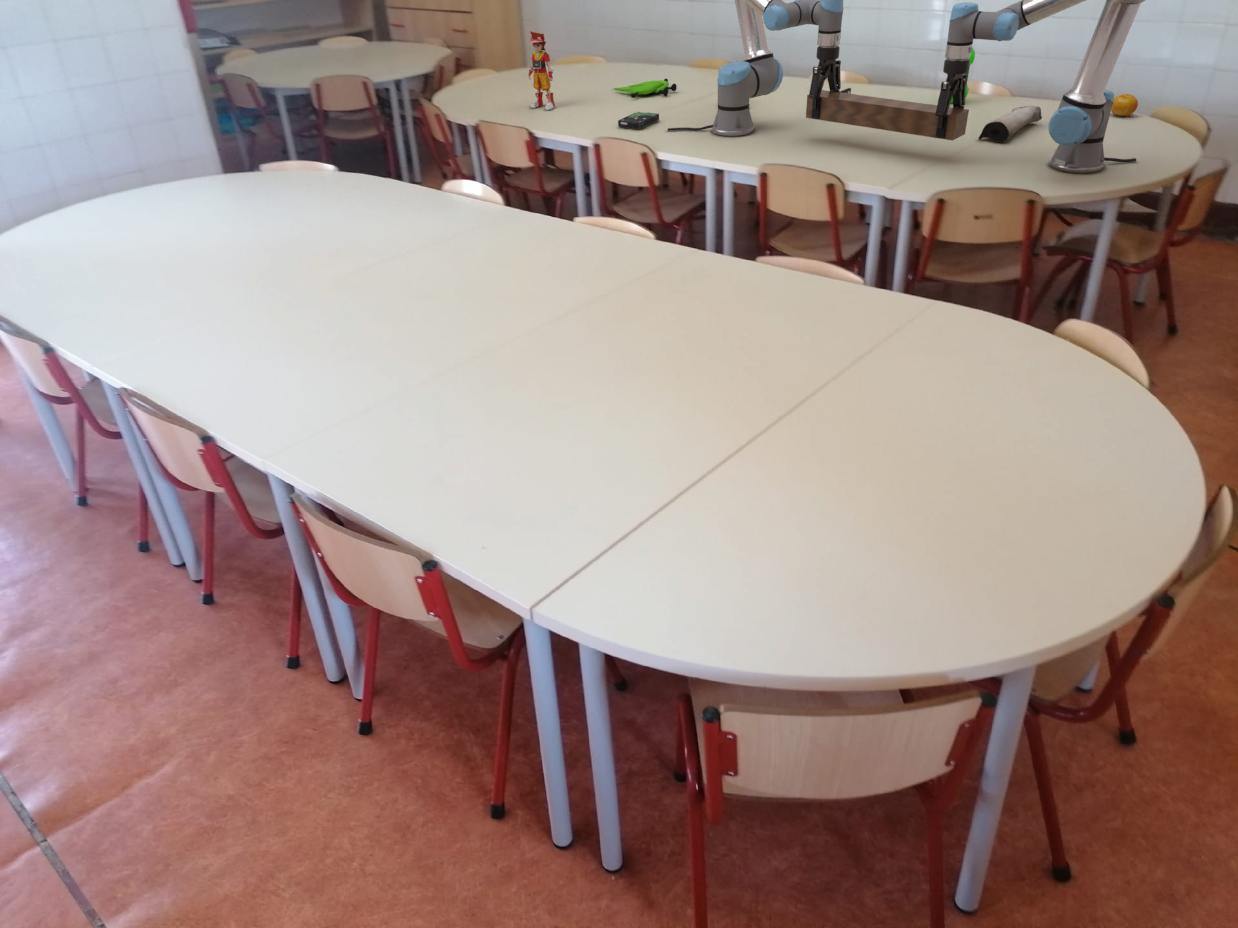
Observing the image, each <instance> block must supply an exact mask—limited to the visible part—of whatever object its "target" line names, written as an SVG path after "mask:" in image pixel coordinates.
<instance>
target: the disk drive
mask: <svg viewBox="0 0 1238 928" xmlns="http://www.w3.org/2000/svg"><path fill="white" fill-rule="evenodd" d="M658 121H660V113H654V112H642V111H637V112H633V113H631V114H629V115H627V116H624V117H623V118H620V119H618V120H617V126H618V128H619V127H620V128H624V129H632V130H643V129H644V128H646V127H648V126H650V125H652V124H654V123H656V122H658Z"/></svg>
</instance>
